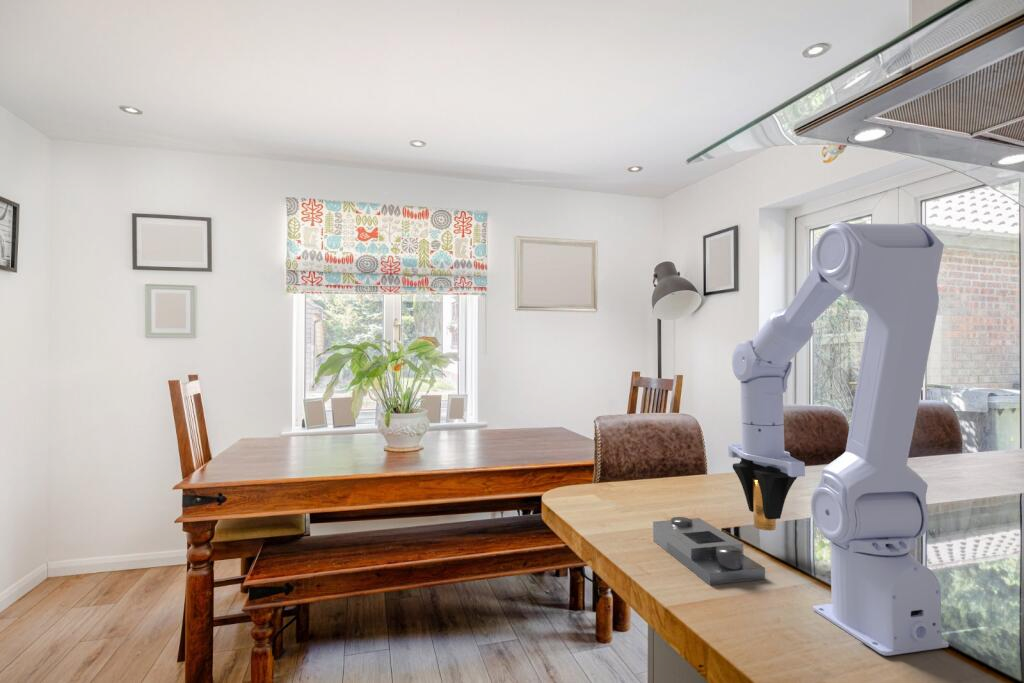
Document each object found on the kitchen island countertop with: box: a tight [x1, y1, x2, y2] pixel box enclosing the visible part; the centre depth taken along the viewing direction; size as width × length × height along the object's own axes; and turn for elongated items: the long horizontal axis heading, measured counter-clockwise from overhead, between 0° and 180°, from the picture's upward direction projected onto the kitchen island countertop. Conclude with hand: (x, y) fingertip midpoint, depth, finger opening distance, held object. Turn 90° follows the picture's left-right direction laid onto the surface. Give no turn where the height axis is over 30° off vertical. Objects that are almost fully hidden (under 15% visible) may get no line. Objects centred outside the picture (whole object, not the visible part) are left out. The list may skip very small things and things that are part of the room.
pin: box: [752, 478, 777, 531], centre depth 77 cm, size 3×3×7 cm
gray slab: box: [652, 516, 766, 586], centre depth 75 cm, size 16×8×4 cm, turn 11°
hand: (764, 514), depth 77 cm, fingers closed on pin, 3 cm apart
